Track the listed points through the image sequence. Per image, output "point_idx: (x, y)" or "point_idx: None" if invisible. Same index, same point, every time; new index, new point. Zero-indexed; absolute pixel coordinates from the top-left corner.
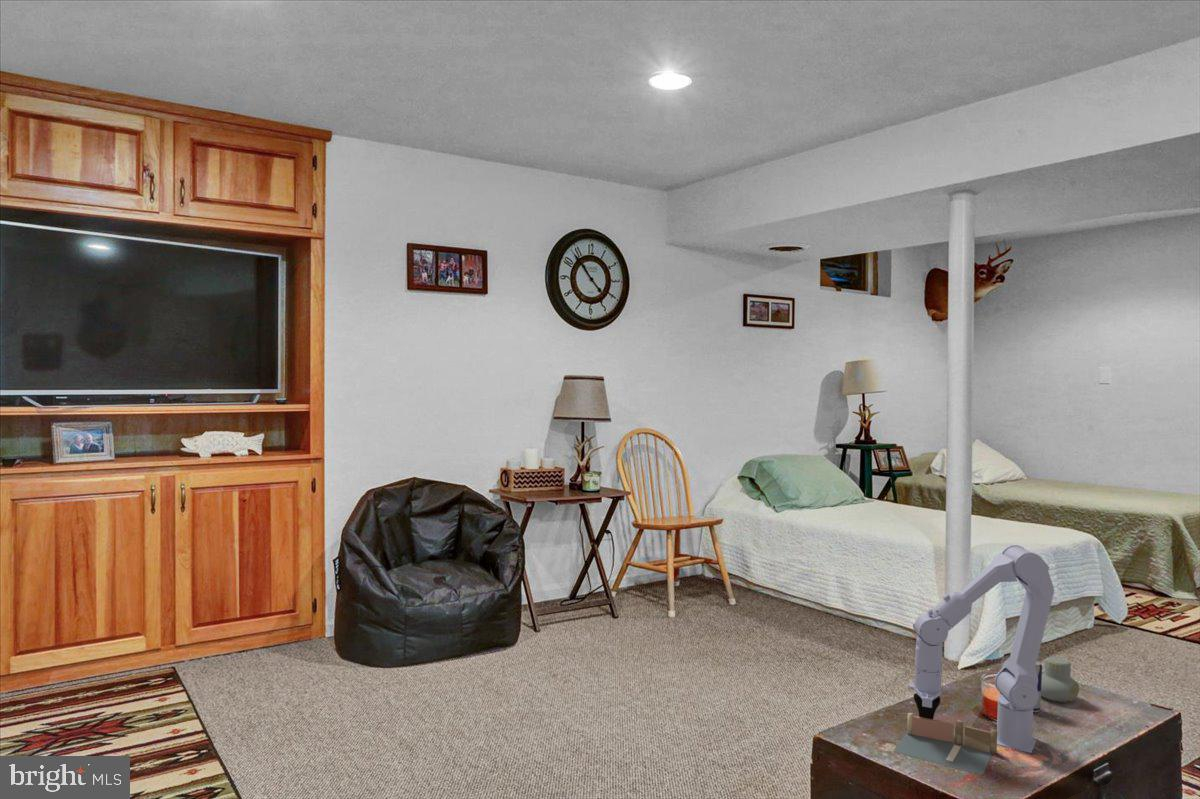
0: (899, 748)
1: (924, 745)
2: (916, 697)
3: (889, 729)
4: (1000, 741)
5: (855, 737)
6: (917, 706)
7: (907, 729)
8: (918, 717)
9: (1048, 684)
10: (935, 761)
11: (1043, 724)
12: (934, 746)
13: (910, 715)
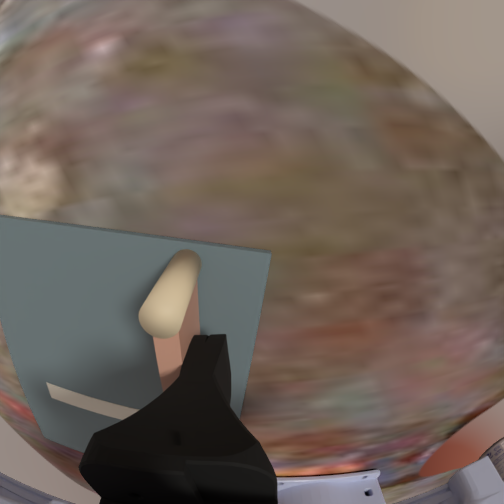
0: (15, 234)
1: (100, 328)
2: (83, 472)
3: (229, 144)
4: (282, 491)
5: (53, 36)
6: (138, 411)
7: (174, 258)
8: (163, 361)
9: None
10: (15, 353)
11: (429, 486)
12: (118, 362)
13: (141, 317)
